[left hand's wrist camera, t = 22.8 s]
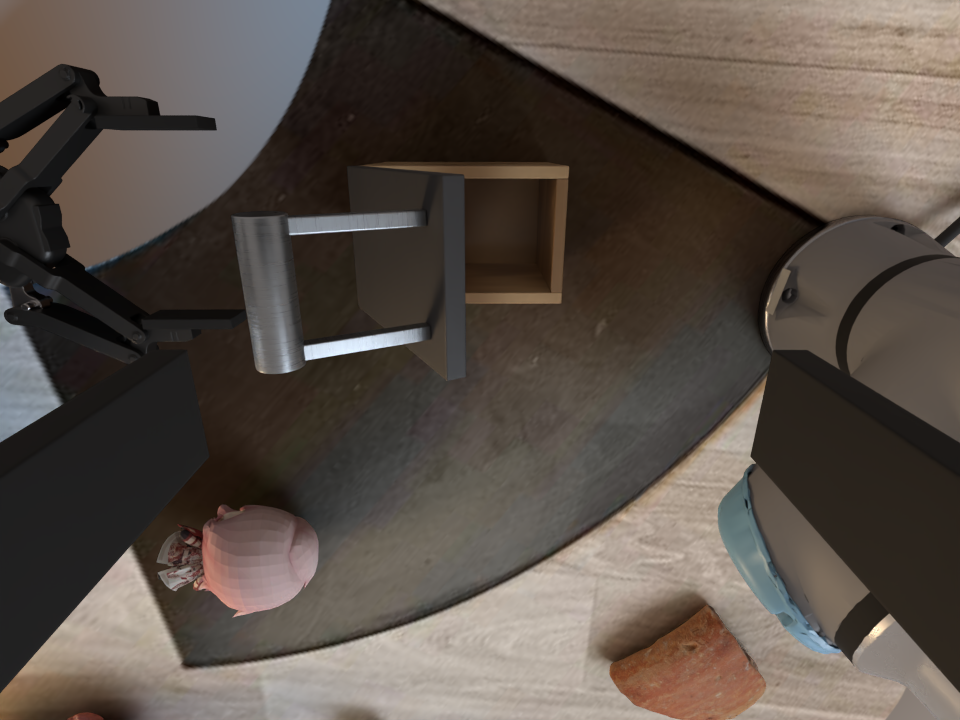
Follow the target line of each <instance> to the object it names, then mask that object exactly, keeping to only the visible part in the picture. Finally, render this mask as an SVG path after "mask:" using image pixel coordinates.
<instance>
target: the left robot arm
mask: <svg viewBox="0 0 960 720" xmlns="http://www.w3.org/2000/svg"><path fill="white" fill-rule="evenodd" d="M958 234H960V217H959V218H958V219H957V220H956V221H955V222H953V223H952V224H951V225H950V226H949V227H948V228H947V229H946V230H944V231H943V232H942V233H941V234H940V235H939V236H938V237H936V238H935V239H933V238H931V237H930V236H929V235H928V234H926V233H925V232H923V231H922V230H920V229H919V228H917V227H915V226H914V225H912V224H910V223H907V222H904V221H901V220H897V219H892V218H886V217H880V216H873V215H859V216H851V217H845V218H841V219H838V220H835V221H832V222H829V223H827V224H825V225H822V226H820V227H818V228H816V229H815V230H813V231H811V232H810V233H808V234H807V235H805V236H804V237H802V238H801V239H800V240H799V241H797V242H796V243H795V244H794V245H793V246H792V247H791V248H789V249H788V251H787V252H786V253H785V254H784V255H783V256H782V257H781V259H780V260H779V261H778V262H777V264H776V265H775V267H774V268H773V270H772V271H771V273H770V275H769V277H768V279H767V281H766V283H765V286H764V288H763V291H762V294H761V299H760V303H759V311H758V321H759V329H760V334H761V337H762V340H763V342H764V345H765V347H766V348H767V350H768V352H769V353H770V354H771V356H772V357H771V362H770V367H769V372H768V376H767V381H766V386H765V390H764V395H763V400H762V405H761V409H760V414H759V419H758V424H757V428H756V433H755V438H754V442H753V447H752V452H751V458H752V459H753V460H754V461H755V462H756V464H752V465H750V466H749V467H748V468H747V469H746V471H745V472H744V476H743V478H742V479H741V480H740V481H739V482H738V483H737V484H736V485H735V486H734V487H733V488H732V489H731V490H730V491H729V492H728V494H727V495H726V496H725V497H724V498H723V499H722V501H721V503H720V505H719V508H718V527H719V531H720V534H721V538H722V540H723V543H724V545H725V547H726V549H727V551H728V553H729V555H730V557H731V559H732V561H733V563H734V564H735V566H736V568H737V569H738V571H739V572H740V574H741V575H742V577H743V578H744V580H745V581H746V583H747V584H748V586H749V587H750V588H751V590H752V591H753V593H754V594H755V595H756V597H757V598H758V599H759V600H760V602H761V603H762V604H763V605H764V607H765V608H766V609H767V610H768V611H769V612H770V613H771V614H776V615H777V617H778V619H779V620H780V622H781V623H782V625H783V627H784V628H785V629H786V630H787V631H788V632H789V633H790V634H791V635H792V636H793V637H795V638H796V639H797V640H798V641H799V642H801V643H802V644H803V645H805V646H806V647H808V648H810V649H811V650H813V651H816V652H819V653H823V654H829V653H840V652H841V651H842V652H843V653H844V654H845V656H846V657H847V658H848V659H849V660H850V661H851V662H852V664H853V665H854V666H855V667H856V668H857V669H858V670H859V671H860V672H862V673H866V674H869V675H873V676H877V677H881V678H885V679H888V680H892V681H896V682H899V683H901V684H902V685H904V686H906V687H908V688H909V689H910V690H911V692H912V693H913V694H914V695H915V696H916V697H917V698H918V699H919V700H920V701H921V703H922V704H923V705H924V706H925V707H926V708H927V709H928V710H929V711H930V712H931V713H932V715H933V716H934V717H935V718H936V719H937V720H960V258H959V257H955V256H954V255H953V254H952V253H950V252H949V251H948V250H947V249H945V248H944V247H945V246H946V245H947V244H948V243H949V242H951V241H952V240H953V239H954V238H955V237H956V236H957V235H958ZM208 458H209V452H208V447H207V442H206V438H205V433H204V428H203V424H202V419H201V414H200V409H199V405H198V400H197V395H196V390H195V386H194V381H193V376H192V372H191V367H190V362H189V357H188V353H187V350H152V351H150V352H148V353H147V354H145V355H143V356H142V357H140V358H138V359H137V360H135V361H134V362H132V363H130V364H129V365H127V366H125V367H124V368H122V369H120V370H119V371H117V372H115V373H114V374H112V375H111V376H109V377H107V378H106V379H104V380H102V381H101V382H99V383H97V384H96V385H94V386H92V387H91V388H89V389H88V390H86V391H84V392H83V393H81V394H79V395H78V396H76V397H74V398H73V399H71V400H69V401H68V402H66V403H65V404H63V405H61V406H60V407H58V408H56V409H55V410H53V411H51V412H50V413H48V414H46V415H45V416H43V417H42V418H40V419H38V420H37V421H35V422H33V423H32V424H30V425H28V426H27V427H25V428H23V429H22V430H20V431H19V432H17V433H15V434H14V435H12V436H10V437H9V438H7V439H5V440H4V441H2V442H0V693H1V692H2V691H3V689H4V688H5V687H6V686H7V685H8V684H9V683H10V681H11V680H12V679H13V678H14V677H15V676H16V675H17V674H18V672H19V671H20V670H21V669H22V668H23V667H24V666H25V665H26V663H27V662H28V661H29V660H30V659H31V658H32V657H33V655H34V654H35V653H36V652H37V651H38V650H39V649H40V648H41V646H42V645H43V644H44V643H45V642H46V641H47V640H48V639H49V637H50V636H51V635H52V634H53V633H54V632H55V631H56V629H57V628H58V627H59V626H60V625H61V624H62V623H63V622H64V620H65V619H66V618H67V617H68V616H69V615H70V614H71V613H72V611H73V610H74V609H75V608H76V607H77V606H78V605H79V603H80V602H81V601H82V600H83V599H84V598H85V597H86V596H87V594H88V593H89V592H90V591H91V590H92V589H93V588H94V587H95V585H96V584H97V583H98V582H99V581H100V580H101V579H102V577H103V576H104V575H105V574H106V573H107V572H108V571H109V570H110V568H111V567H112V566H113V565H114V564H115V563H116V562H117V560H118V559H119V558H120V557H121V556H122V555H123V554H124V553H125V551H126V550H127V549H128V548H129V547H130V546H131V545H132V544H133V542H134V541H135V540H136V539H137V538H138V537H139V536H140V534H141V533H142V532H143V531H144V530H145V529H146V528H147V527H148V525H149V524H150V523H151V522H152V521H153V520H154V519H155V518H156V516H157V515H158V514H159V513H160V512H161V511H162V510H163V508H164V507H165V506H166V505H167V504H168V503H169V502H170V501H171V499H172V498H173V497H174V496H175V495H176V494H177V493H178V492H179V490H180V489H181V488H182V487H183V486H184V485H185V484H186V482H187V481H188V480H189V479H190V478H191V477H192V476H193V475H194V473H195V472H196V471H197V470H198V469H199V468H200V467H201V465H202V464H203V463H204V462H205V461H206V460H207V459H208Z"/></svg>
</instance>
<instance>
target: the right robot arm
mask: <svg viewBox="0 0 960 720" xmlns="http://www.w3.org/2000/svg"><path fill="white" fill-rule="evenodd" d="M99 84H100V81H99V78H98V76H97V74H96V73H95V72H93V71H91V70H87V69H83V68H79V67H74V66H70V65H66V64H60V65H58V66H56V67H55V68H53V69H52V70H50V71H48V72H47V73H45V74H44V75H42V76H41V77H39V78H38V79H36V80H34V81H33V82H31V83H30V84H28V85H27V86H25V87H24V88H22V89H20V90H19V91H17V92H16V93H14V94H13V95H11V96H10V97H8V98H6V99H5V100H3V101H2V102H0V153H1V152H3V151H4V150H5V149H6V148H8V147H9V144H8V142H7V140H12V139H15V138H18V137H20V136H22V135H24V134H25V133H27V132H29V131H30V130H32V129H33V128H35V127H37V126H38V125H40V124H41V123H43V122H45V121H46V120H48V119H49V118H51V117H52V116H54V115H56V114H57V113H59V112H60V111H62V110H64V109H65V108H66V109H65V111H64V112H63V113H62V114H61V115H60V116H59V118H58V119H57V120H56V121H55V122H54V124H53V125H52V126H51V127H50V128H49V129H48V131H47V132H46V133H45V134H44V136H43V137H42V138H41V139H40V140H39V141H38V143H37V144H36V145H35V146H34V148H33V149H32V150H31V151H30V152H29V153H28V155H27V156H26V157H25V158H24V159H23V161H22V162H21V163H20V164H19V165H17V166H14V167H12V168H10V169H9V170H8V169H6V168H5V167H3V166H0V283H1V284H3V285H5V286H8V287H9V288H10V293H11V298H12V303H13V308H10V309H7V310H6V311H5V312H4V317H5V319H6V320H7V321H8V322H9V323H10V324H14V325H23V326H33V327H39V328H41V329H44V330H46V331H49V332H51V333H54V334H56V335H58V336H61V337H63V338H66V339H68V340H71V341H73V342H75V343H78V344H80V345H83V346H85V347H88V348H90V349H93V350H95V351H97V352H100V353H102V354H105V355H107V356H110V357H112V358H114V359H117V360H119V361H122V362H124V363H127V364H130V363H132V362H134V361H135V360H137V359H138V358H140V357H142V356H143V355H145V354H147V353H148V352H150V351H152V350H159V347H158V345H157V342H173V341H174V342H178V341H179V342H180V341H189V340H191V339H193V338H195V337H196V336H198V335H200V334H201V329H233V328H234V327H236V326H237V325H239V324H240V323H241V322H243V321H244V320H246V319H247V318H246V312H245V310H160V311H158V312H156V313H154V314H152V315H149V314H148V313H146V312H145V311H143V310H142V309H140V308H139V307H137V306H136V305H135V304H133V303H132V302H130V301H129V300H127V299H126V298H124V297H123V296H121V295H120V294H118V293H117V292H116V291H114V290H113V289H111V288H110V287H108V286H107V285H105V284H104V283H102V282H101V281H99V280H98V279H97V278H95V277H94V276H92V275H91V274H89V273H88V272H86V271H85V267H84V266H83V265H82V264H81V263H79V262H78V261H77V260H75V259H74V258H72V257H71V256H69V255H68V254H66V251H67V248H69V247H70V244H69V240H68V237H67V235H66V233H65V231H64V229H63V227H62V214H61V210H60V206H59V204H55V203H54V201H53V200H52V199H51V197H50V195H51V194H52V193H53V192H54V191H55V189H56V188H57V187H58V186H59V185H60V184H61V182H62V179H61V177H62V176H63V175H64V174H65V173H66V171H67V170H68V169H69V168H70V167H71V166H72V164H73V163H74V162H75V161H76V160H77V159H78V158H79V156H80V155H81V154H82V153H83V152H84V151H85V149H86V148H87V147H88V146H89V145H90V144H91V143H92V141H93V140H94V139H95V138H96V137H97V136H98V135H99V133H100V132H101V131H102V130H103V129H114V130H217V129H216V123H215V119H214V118H208V117H202V116H160V112H159V107H158V102H156V101H153V100H151V99H147V98H142V97H107V96H106V95H105V94H104V93H103V92H102V90H101V89H100V87H99ZM53 267H55V268H53ZM52 268H53V269H52ZM35 283H38V284H39V285H41V286H42V287H44V288H47V289H53V290H55V291H57V292H59V293H60V294H62V295H63V296H65V297H66V298H68V299H69V300H71V301H72V302H74V303H75V304H77V305H78V306H80V307H81V308H83V309H84V310H86V311H87V312H89V313H90V314H92V315H93V316H95V317H96V318H95V317H93V316H91V315H88V314H86V313H83V312H81V311H79V310H76V309H74V308H72V307H69V306H66V305H63V304H59V303H53V299H52V298H51V297H50V296H44V295H42V294H39V293H38V292H36V291H35V290H34V288H33V285H32V284H35Z"/></svg>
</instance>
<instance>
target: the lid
mask: <svg viewBox="0 0 960 720" xmlns="http://www.w3.org/2000/svg"><path fill="white" fill-rule="evenodd" d="M347 174H348V186H349V198H350V210H351V213H331V214H311V215H291V216H288V214H287V213H285V212H278V211H257V212H243V213H236V214H233V215H232V216H231V218H232V225H233V231H234V237H235V243H236V249H237V255H238V261H239V268H240V274H241V280H242V286H243V292H244V298H245V304H246V311H247V317H248V323H249V329H250V335H251V341H252V347H253V354H254V360H255V366H256V369H257V370H258V371H259V372H262V373H267V374H280V373H287V372H291V371H295V370H297V369H300V368H301V367H303V366H304V365H305V363H306V360H311V359H317V358H323V357H329V356H335V355H341V354H347V353H353V352H359V351H365V350H371V349H377V348H383V347H389V346H395V345H401V344H404V345H405V346H406V347H408V348H409V349H410V350H411V351H412V352H413V353H415V354H416V355H417V356H418V357H419V358H421V359H422V360H423V361H424V362H425V363H426V364H428V365H429V366H430V367H431V368H432V369H434V370H435V371H436V372H437V373H438V374H440V375H441V376H442V377H443V378H444V379H445V380H447V381H449V380H453V379H458V378H463V377H466V303H465V189H464V175H463V174H454V173H442V172H430V171H418V170H406V169H394V168H382V167H370V166H347ZM349 231H352V234H353V246H354V258H355V270H356V282H357V294H358V306H359V307H360V308H361V309H362V310H364V311H365V312H366V313H367V314H368V315H370V316H371V317H372V318H373V319H374V320H375V321H377V322H378V323H379V324H380V325H381V326H383V327H384V329H378V330H371V331H364V332H358V333H351V334H344V335H338V336H331V337H324V338H318V339H311V340H303V332H302V324H301V316H300V308H299V300H298V292H297V285H296V277H295V269H294V261H293V253H292V245H291V237H290V235H304V234H319V233H334V232H349Z"/></svg>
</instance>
